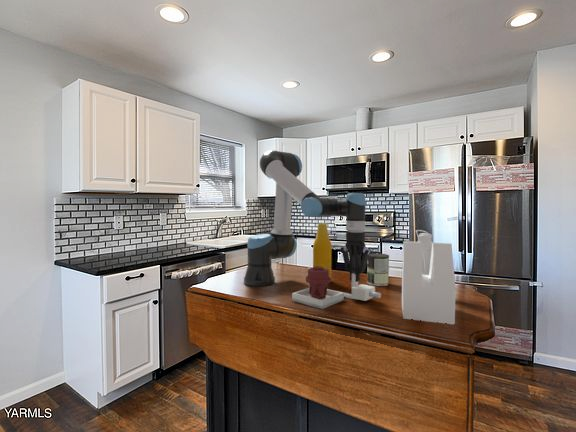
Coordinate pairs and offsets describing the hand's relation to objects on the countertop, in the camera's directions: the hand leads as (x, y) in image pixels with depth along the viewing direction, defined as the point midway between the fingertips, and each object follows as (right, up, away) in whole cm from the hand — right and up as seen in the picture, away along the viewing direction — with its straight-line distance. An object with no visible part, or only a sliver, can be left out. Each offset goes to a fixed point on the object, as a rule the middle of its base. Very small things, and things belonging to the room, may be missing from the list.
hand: (354, 288), depth 124 cm
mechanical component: (-15, -3, -3) cm, 16 cm away
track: (-3, -4, +3) cm, 5 cm away
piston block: (+4, -3, -4) cm, 6 cm away
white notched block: (+22, -5, -16) cm, 27 cm away
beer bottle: (-10, -3, +28) cm, 30 cm away
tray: (-15, -4, -3) cm, 16 cm away
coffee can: (+17, -4, +25) cm, 31 cm away
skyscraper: (+32, -4, +8) cm, 33 cm away
